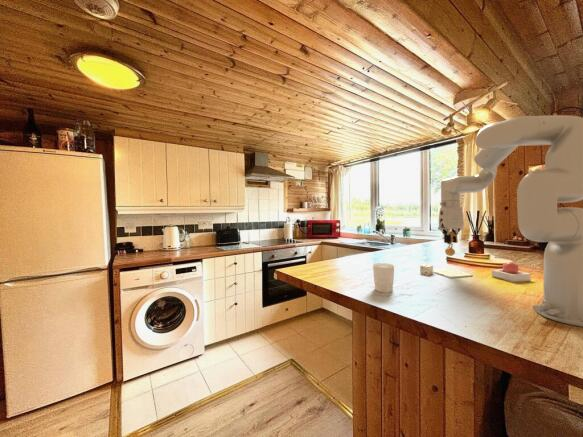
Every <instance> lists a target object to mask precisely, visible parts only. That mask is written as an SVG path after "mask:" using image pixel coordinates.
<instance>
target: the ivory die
mask: <svg viewBox="0 0 583 437" xmlns="http://www.w3.org/2000/svg"><path fill="white" fill-rule="evenodd" d="M433 270H434V266H433V265H430V264H420V265H419V273H420V274H422V275H426V276H429V275H432V274H434V273H433Z"/></svg>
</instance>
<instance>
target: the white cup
mask: <svg viewBox="0 0 583 437" xmlns="http://www.w3.org/2000/svg"><path fill="white" fill-rule="evenodd" d="M372 269H373V270H372V271H373V272H372V273H373V283H374V289H375V291H377V292H379V293H387V294H388V293H392V292H393V290H394V281H395V280H394V276H395V274H394V272H395V265H393V264H391V263H383V262H380V263H379V262H377V263H373V264H372Z"/></svg>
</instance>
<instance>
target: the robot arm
mask: <svg viewBox="0 0 583 437" xmlns="http://www.w3.org/2000/svg"><path fill="white" fill-rule="evenodd" d="M475 145H476V147H477V148H478V149H479V150H478V152H477V153H476V154H475V155H474V158H473V161H474V163H475V165H477V166H478V167H479V168H481V170H480V172H478V173H477V174H476V175H458V176H453V177H450V178H444V179H442V180H441V182H440V202H439V205H440V208H439V213H438V227H437V230H439V231H440V232H441V233H442V235H443V238H444V240H443V242H444V243H445V244H447V243H451V235H449V234H450V232H451V231H452V232H454V234H455V235H457V236H458V235H459V233H460V231H461V230H463V229H464V226H465V224H464V213H463V209H462V207H461V194H471V193H472V194H473V193H475V194H476V193H480V192H481V191H484V190H485V189H486V188H487V187H488V186H490V185H491V184H492V183H493V182H494V180H495V179H496V176H497V173H498V166H499V165H500V164H501V163H502V162H503V161H505V159H506V158H507V157H509V155H510V154H512V153H513V152H514V151H515V150H516V149H517V148H518V147H520V146H521V147H522V146H523V147H524V146H550V147H549V148H548V149H547V152H546V154H545V157H544V158H545V159H544V163H545V166H544V167H545V168H544V169H538V170H533V171H530V172H529V173H527V174H526V175H524V176H523V177H522V179H521V180H520V181H519V183H518V186H517V189H516V193H517V194H516V203H517V204H516V206H517V210H516V211H517V225H518V230H519V231H520V234H521V235H522V236H523V237H524V238H525V239H527V240H528V241H532V242H538V243H547V244H546V247H545V248H544V253H543V299H542V300H541V301H542V303H541V304H536V305H535V304H534V305H533V306H532V310H533V311H534V312H535V313H537V314H539V315H540V316H543V317H544V318H546V319H549V320H552V321H555V322H557V323H558V322H559V323H562V324H566V325H571V326H577V327H582V328H583V207H582V208H581V207H573V206H570V207H569V206H567V207H558V204H563V203H565V204H566V203H575V202H580V201H582V200H583V117H581V116H577V115H566V114H565V115H562V114H561V115H559V114H558V115H554V114H553V115H526V116H525V115H524V116H517V117H512V118H509V119H505V120H502V121H498V122H492V123H489V124H488V125H486V126H484V127H483V128H481V129H480V130H479V131H478V133H477V134H476V137H475ZM452 239H453V242H452V243H451V244H457V243H456V241H457V240H456V236H453V238H452Z"/></svg>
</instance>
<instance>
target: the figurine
mask: <svg viewBox="0 0 583 437" xmlns="http://www.w3.org/2000/svg"><path fill="white" fill-rule="evenodd" d="M449 235H451V243H446V244H447V245H448V246H447V248H446V249H445V251H444V253H445V254H446V255H447V256H448V257H451V256H452V257H453V256H454V255H455V254H456V250H455V249H454V248H453V246H454V243H453V239H452V238H453V236H456V240H457V241H456V243H455V244H457V243H459V242H458V241H459V240H458V235H455V234H454V232H452V231H451V230H450V234H449ZM442 240H443V241H444V237H443V238H442Z"/></svg>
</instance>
